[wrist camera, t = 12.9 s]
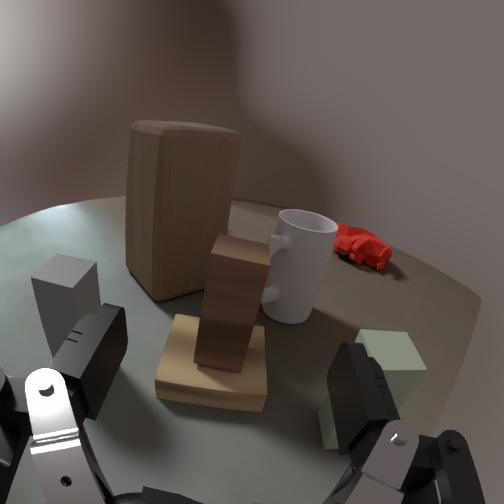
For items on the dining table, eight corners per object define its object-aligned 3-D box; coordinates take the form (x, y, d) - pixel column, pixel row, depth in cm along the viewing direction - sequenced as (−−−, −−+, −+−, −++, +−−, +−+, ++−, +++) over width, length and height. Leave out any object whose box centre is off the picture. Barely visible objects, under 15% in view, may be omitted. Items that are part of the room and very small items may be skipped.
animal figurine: (336, 236, 68) (342, 215, 66) (392, 265, 58) (400, 242, 56) (304, 243, 60) (310, 219, 58) (366, 277, 50) (375, 251, 48)
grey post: (93, 381, 22) (72, 288, 18) (57, 369, 22) (30, 277, 18) (108, 352, 26) (96, 261, 22) (73, 342, 26) (56, 253, 22)
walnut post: (240, 372, 24) (270, 265, 20) (193, 362, 24) (210, 252, 20) (243, 343, 28) (269, 244, 24) (201, 334, 28) (219, 233, 24)
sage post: (366, 446, 21) (426, 369, 16) (323, 449, 20) (376, 370, 16) (357, 412, 24) (406, 332, 20) (317, 412, 24) (360, 329, 20)
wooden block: (183, 254, 47) (197, 122, 38) (222, 286, 41) (246, 131, 32) (123, 267, 40) (128, 119, 32) (155, 306, 34) (165, 126, 26)
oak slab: (260, 415, 24) (267, 395, 22) (156, 400, 23) (154, 379, 22) (258, 347, 32) (264, 326, 31) (175, 335, 31) (175, 313, 30)
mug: (285, 289, 43) (305, 207, 37) (321, 314, 38) (349, 228, 33) (227, 310, 36) (242, 214, 31) (265, 343, 32) (290, 240, 27)
